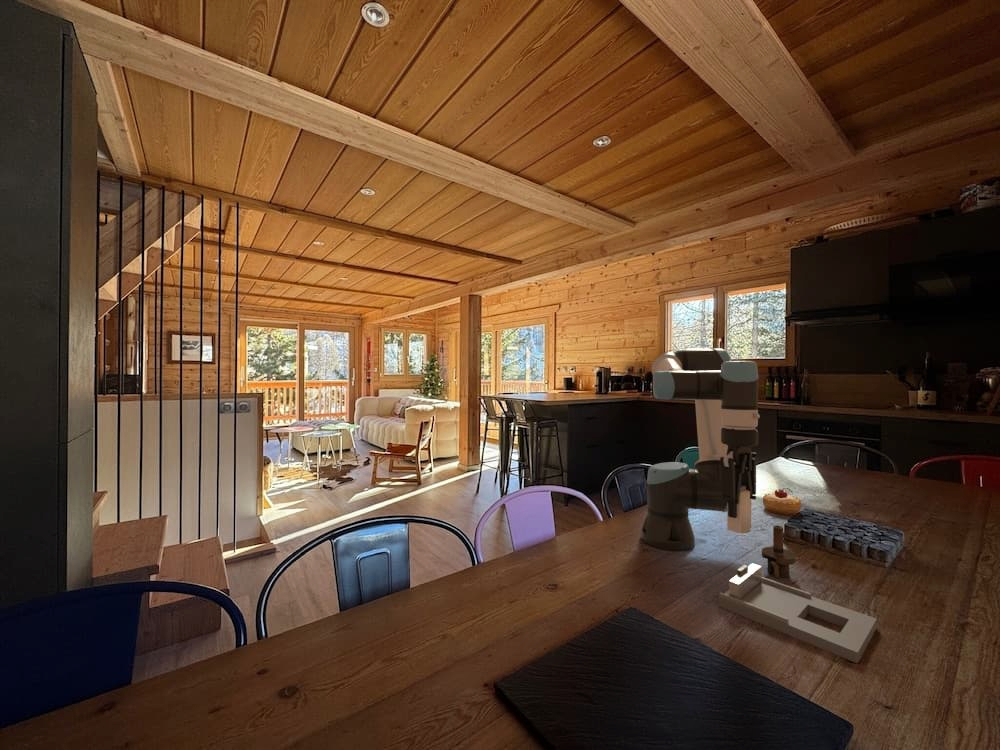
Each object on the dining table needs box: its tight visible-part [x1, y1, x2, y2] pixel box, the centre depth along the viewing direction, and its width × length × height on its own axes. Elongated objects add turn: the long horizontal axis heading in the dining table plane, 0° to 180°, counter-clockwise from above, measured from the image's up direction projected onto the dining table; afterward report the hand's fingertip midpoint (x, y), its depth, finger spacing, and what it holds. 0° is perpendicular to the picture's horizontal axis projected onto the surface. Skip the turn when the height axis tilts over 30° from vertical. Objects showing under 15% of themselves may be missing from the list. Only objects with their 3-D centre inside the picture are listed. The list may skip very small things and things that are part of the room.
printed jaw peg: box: [739, 485, 751, 534], centre depth 100 cm, size 4×4×10 cm
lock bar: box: [728, 563, 763, 599], centre depth 98 cm, size 2×13×4 cm, turn 130°
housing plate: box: [718, 576, 878, 664], centre depth 91 cm, size 24×16×3 cm, turn 40°
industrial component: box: [761, 524, 796, 578], centre depth 110 cm, size 9×7×12 cm
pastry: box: [762, 487, 802, 516], centre depth 157 cm, size 12×12×9 cm
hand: (739, 528), depth 99 cm, fingers closed on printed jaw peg, 4 cm apart
